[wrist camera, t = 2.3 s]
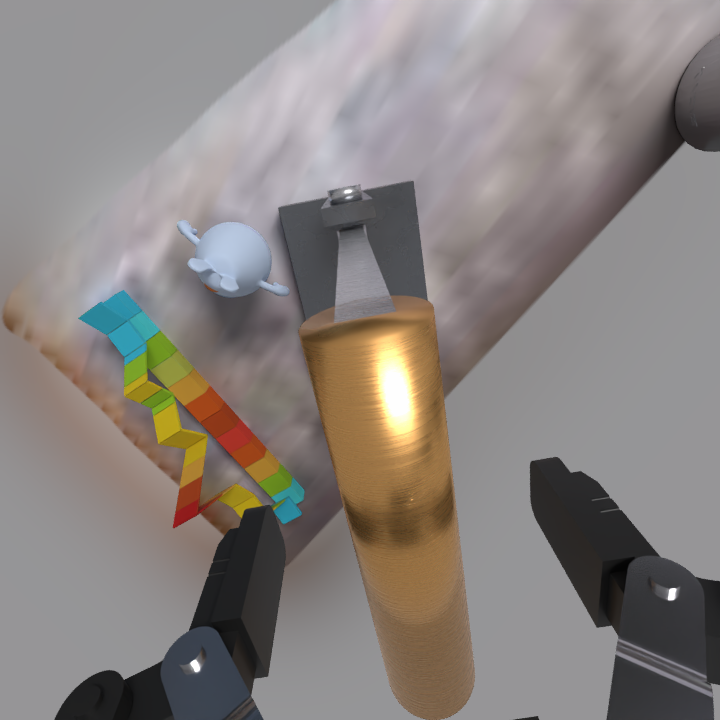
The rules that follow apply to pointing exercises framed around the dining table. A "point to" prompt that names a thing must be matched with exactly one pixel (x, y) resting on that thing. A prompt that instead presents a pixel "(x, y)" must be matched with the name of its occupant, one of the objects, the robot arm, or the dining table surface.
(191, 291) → the dining table surface
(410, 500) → the lever
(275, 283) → the toy figure
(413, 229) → the lever stand
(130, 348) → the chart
